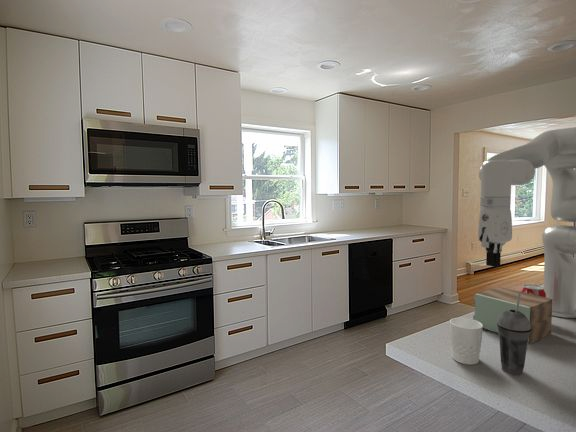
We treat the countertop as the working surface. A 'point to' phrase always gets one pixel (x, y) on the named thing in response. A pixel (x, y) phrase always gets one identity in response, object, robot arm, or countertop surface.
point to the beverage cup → (513, 339)
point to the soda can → (534, 290)
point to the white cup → (465, 340)
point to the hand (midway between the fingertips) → (493, 265)
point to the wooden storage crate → (538, 310)
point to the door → (494, 310)
